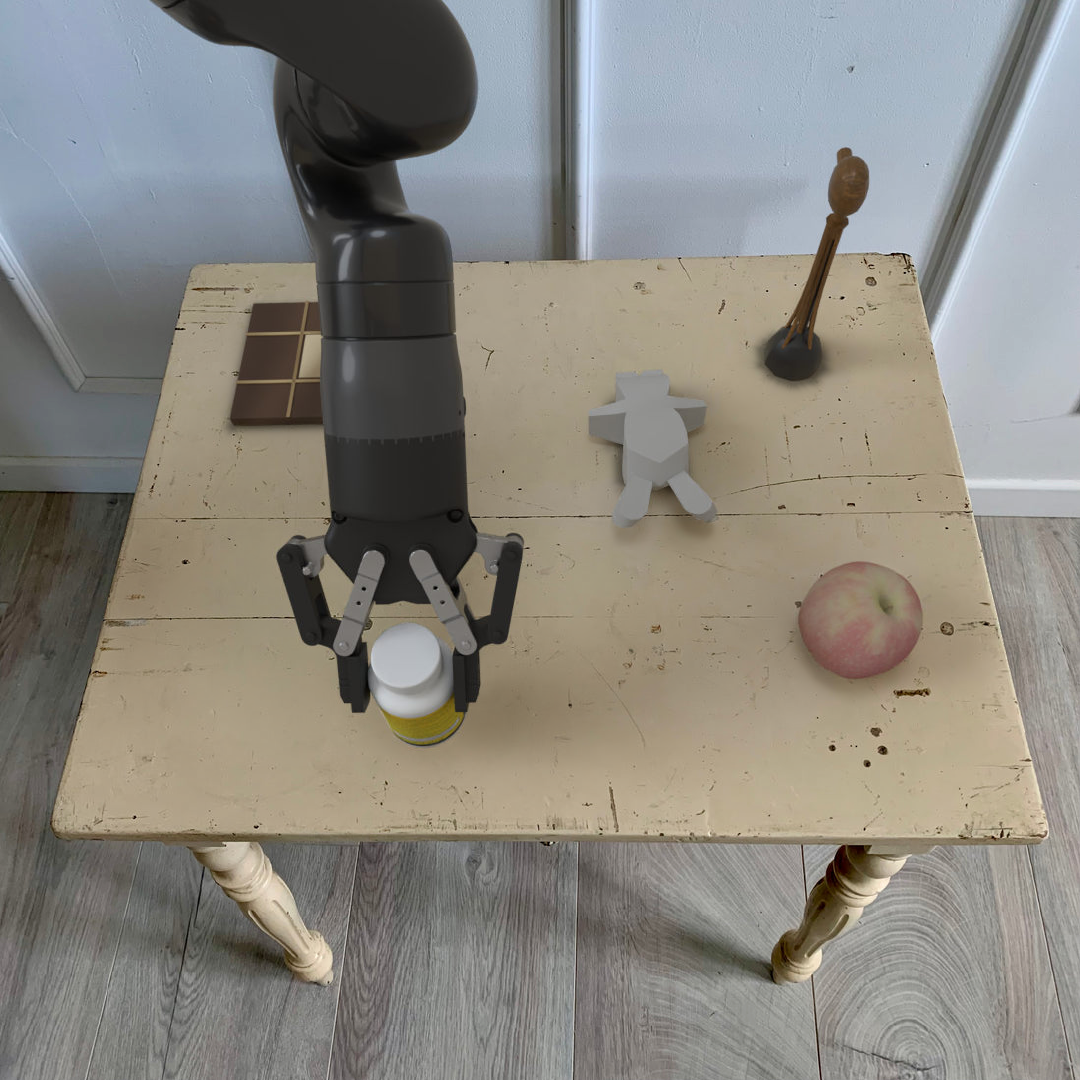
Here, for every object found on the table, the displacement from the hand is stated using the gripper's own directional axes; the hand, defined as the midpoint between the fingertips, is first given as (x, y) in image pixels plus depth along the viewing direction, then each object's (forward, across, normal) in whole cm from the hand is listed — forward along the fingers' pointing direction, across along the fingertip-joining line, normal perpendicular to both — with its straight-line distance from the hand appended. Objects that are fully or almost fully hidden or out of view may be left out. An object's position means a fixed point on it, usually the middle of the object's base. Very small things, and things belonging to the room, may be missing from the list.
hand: (412, 705), depth 52 cm
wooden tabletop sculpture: (-17, +29, +32) cm, 46 cm away
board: (-17, -11, +32) cm, 38 cm away
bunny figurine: (-10, +16, +24) cm, 30 cm away
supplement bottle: (+3, 0, +6) cm, 7 cm away
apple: (+2, +29, +12) cm, 32 cm away
